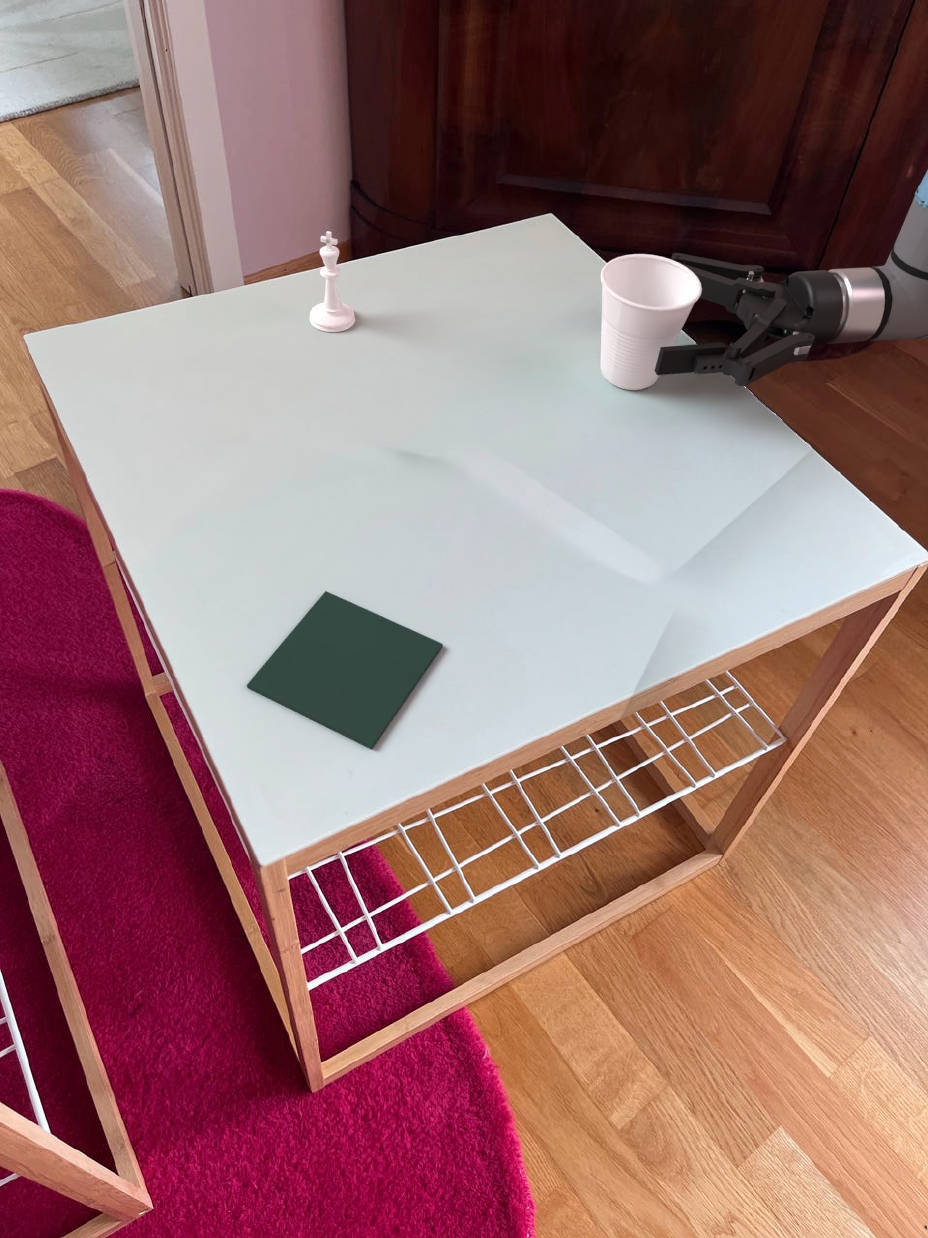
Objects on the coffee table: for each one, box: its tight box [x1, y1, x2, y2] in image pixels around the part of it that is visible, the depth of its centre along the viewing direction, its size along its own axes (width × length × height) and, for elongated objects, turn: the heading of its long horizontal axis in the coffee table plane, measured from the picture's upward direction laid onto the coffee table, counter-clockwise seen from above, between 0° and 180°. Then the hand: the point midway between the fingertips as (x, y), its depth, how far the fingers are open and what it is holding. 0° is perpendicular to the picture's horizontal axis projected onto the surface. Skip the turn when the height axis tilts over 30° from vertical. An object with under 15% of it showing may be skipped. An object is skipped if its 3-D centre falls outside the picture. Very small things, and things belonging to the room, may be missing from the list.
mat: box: [246, 590, 444, 750], centre depth 74 cm, size 11×11×1 cm
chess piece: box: [309, 230, 356, 333], centre depth 99 cm, size 5×5×10 cm
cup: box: [600, 253, 702, 391], centre depth 96 cm, size 10×10×11 cm
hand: (635, 320), depth 96 cm, fingers open, 13 cm apart
